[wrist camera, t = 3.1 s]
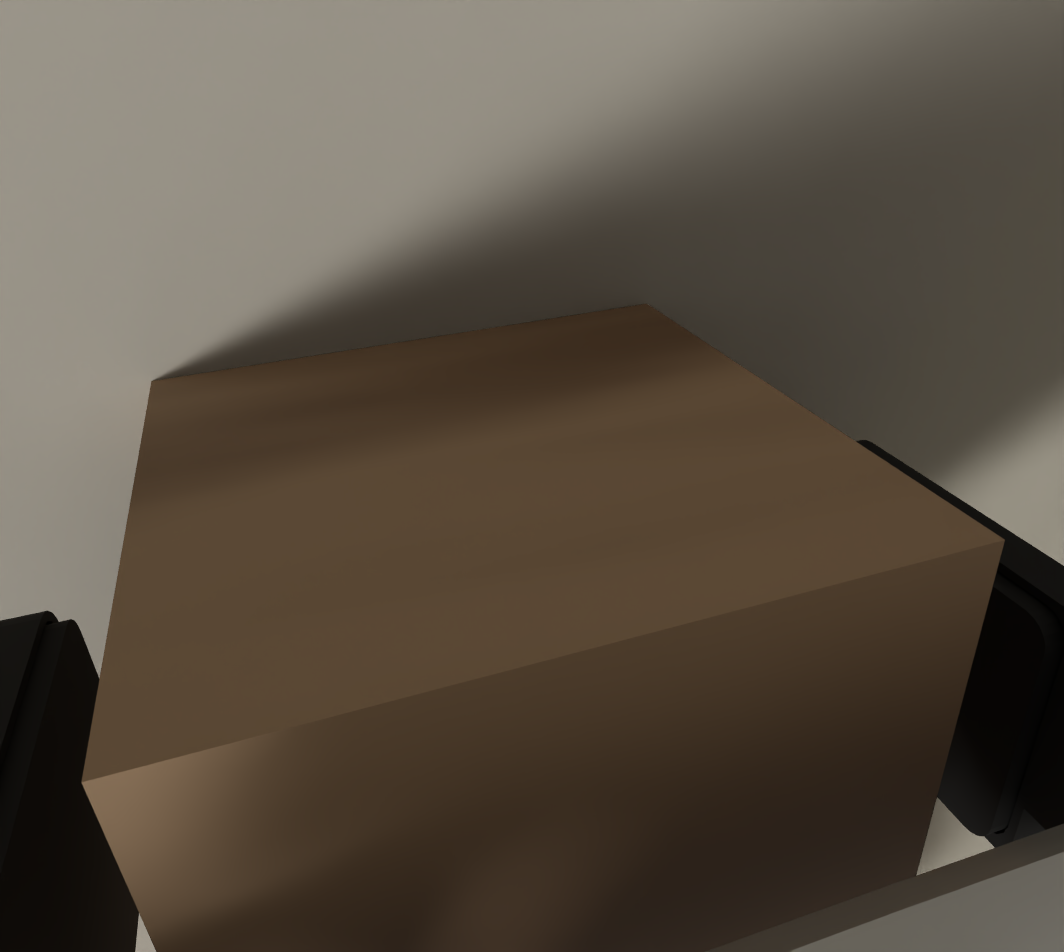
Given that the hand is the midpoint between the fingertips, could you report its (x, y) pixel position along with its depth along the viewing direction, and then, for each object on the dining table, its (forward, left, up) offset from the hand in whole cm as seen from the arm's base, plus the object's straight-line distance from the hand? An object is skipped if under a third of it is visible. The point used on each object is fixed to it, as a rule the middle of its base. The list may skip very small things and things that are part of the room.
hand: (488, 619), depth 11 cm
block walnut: (0, 0, -2) cm, 2 cm away
